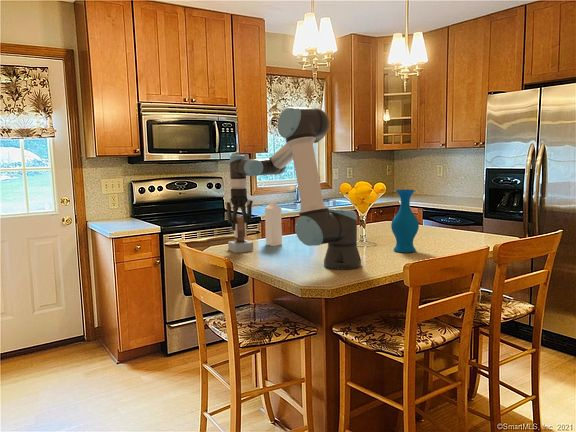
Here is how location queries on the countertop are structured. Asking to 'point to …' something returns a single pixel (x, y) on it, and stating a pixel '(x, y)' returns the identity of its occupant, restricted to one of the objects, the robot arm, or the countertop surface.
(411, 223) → the vase
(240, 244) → the socket block
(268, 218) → the milk
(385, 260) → the countertop surface
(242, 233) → the peg
